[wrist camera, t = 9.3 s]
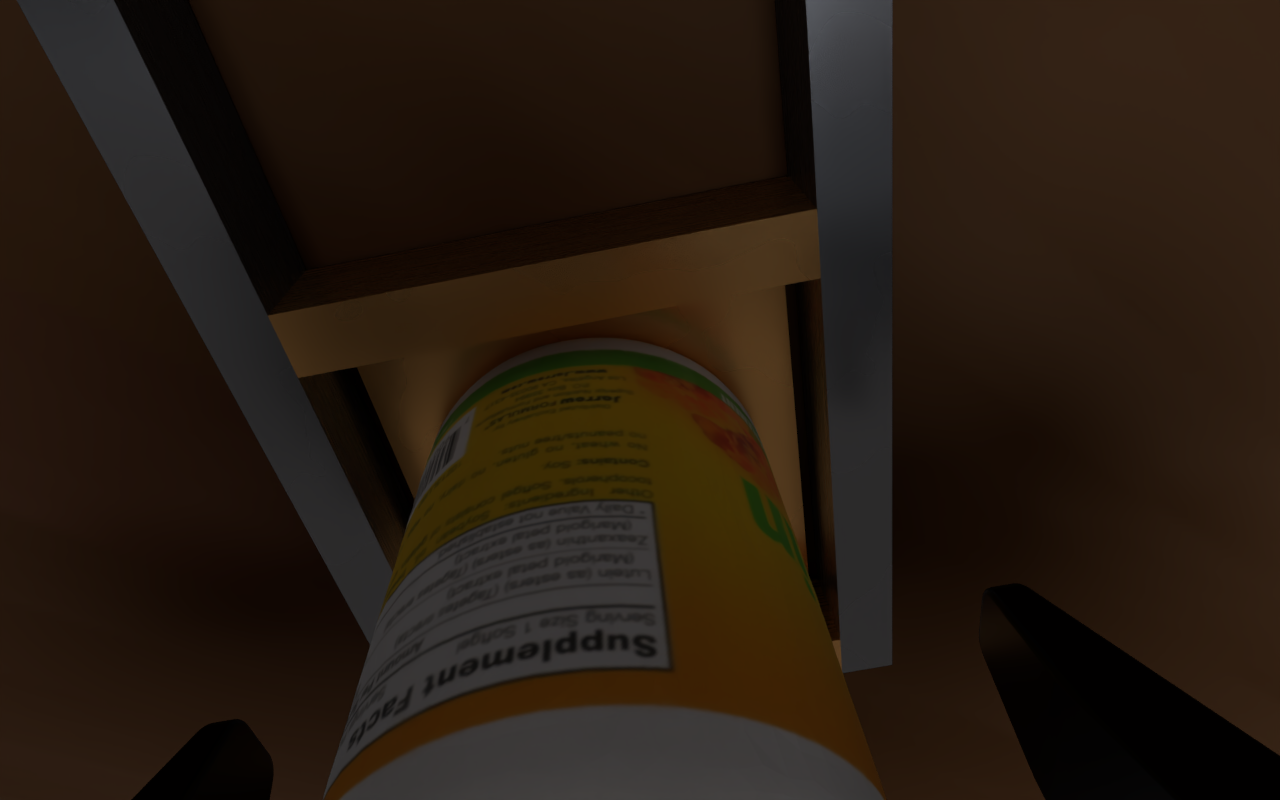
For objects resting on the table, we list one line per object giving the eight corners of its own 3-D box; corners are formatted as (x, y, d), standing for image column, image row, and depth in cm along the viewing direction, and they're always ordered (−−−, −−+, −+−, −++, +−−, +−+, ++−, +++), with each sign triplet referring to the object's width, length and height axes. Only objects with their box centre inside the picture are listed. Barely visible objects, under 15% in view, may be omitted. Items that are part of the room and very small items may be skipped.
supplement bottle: (782, 553, 14) (1092, 1514, 5) (499, 618, 14) (371, 1601, 6) (727, 285, 11) (1203, 1438, 2) (375, 376, 11) (-227, 1617, 3)
